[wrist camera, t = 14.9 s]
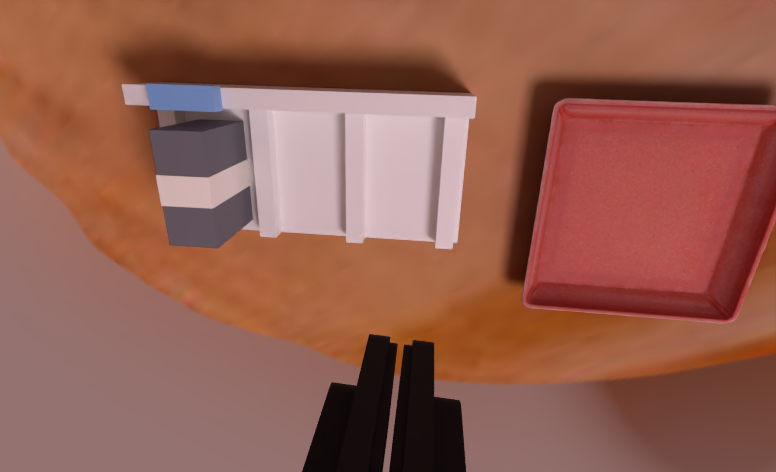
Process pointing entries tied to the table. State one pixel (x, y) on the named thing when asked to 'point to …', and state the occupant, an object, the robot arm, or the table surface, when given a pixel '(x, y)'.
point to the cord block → (202, 181)
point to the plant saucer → (652, 208)
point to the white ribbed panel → (338, 155)
